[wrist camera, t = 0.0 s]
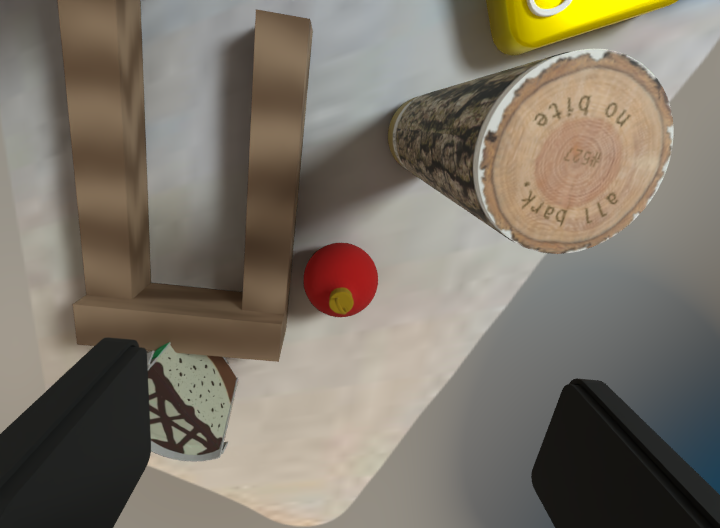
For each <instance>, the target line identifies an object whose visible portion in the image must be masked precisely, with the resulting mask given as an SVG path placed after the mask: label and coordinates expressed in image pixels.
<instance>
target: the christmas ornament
mask: <svg viewBox="0 0 720 528" xmlns="http://www.w3.org/2000/svg"><path fill="white" fill-rule="evenodd" d="M377 285H378V274H377V270H376V267H375V264H374V262H373V260H372V259H371V258H370V256H369V255H368V254H367V253H366V252H365V251H363V250H362V249H361V248H359V247H357V246H355V245H352V244H348V243H333V244H330V245H327V246H324V247H323V248H321V249H319V250H318V251H317V252H316V253H315V254H314V255H313V256H312V257H311V258H310V260H309V261H308V263H307V265H306V268H305V272H304V289H305V292H306V295H307V297H308V299H309V300H310V302H311V303H312V304H313V305H314V306H315V307H316V308H317V309H318V310H319V311H321V312H323V313H325V314H327V315H330V316H334V317H347V316H352V315H354V314H357V313H359V312H360V311H362V310H363V309H364V308H366V307H367V306H368V305H369V303H370V302H371V301H372V299H373V297H374V296H375V293H376V290H377Z"/></svg>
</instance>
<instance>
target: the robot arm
mask: <svg viewBox="0 0 720 528" xmlns="http://www.w3.org/2000/svg"><path fill="white" fill-rule="evenodd" d="M150 453H151V432H150V410H149V388H148V365H147V351H146V349H145V348H142V347H139V344H138V342H137V341H136V340H132V339H120V338H109V337H107V338H103V339H102V340H101V341H99V342H98V343H97V344H96V345H95V346H94V347H93V348H92V349H91V350H90V351H89V352H88V353H87V354H86V355H85V356H83V357H82V358H81V359H80V360H79V361H78V362H77V363H76V364H75V365H74V366H73V367H72V368H71V369H70V370H68V371H67V372H66V373H65V374H64V375H63V376H62V377H61V378H60V379H59V380H58V381H57V382H56V383H55V384H54V385H52V386H51V387H50V388H49V389H48V390H47V391H46V392H45V393H44V394H43V395H42V396H41V397H40V398H39V399H38V400H36V401H35V402H34V403H33V404H32V405H31V406H30V407H29V408H28V409H27V410H26V411H25V412H24V413H22V414H21V415H20V416H19V417H18V418H17V419H16V420H15V421H14V422H13V423H12V424H11V425H10V426H9V427H7V428H6V429H5V430H4V431H3V432H2V433H1V434H0V528H113V527H114V525H115V523H116V521H117V519H118V517H119V516H120V514H121V512H122V510H123V508H124V507H125V505H126V503H127V501H128V499H129V497H130V495H131V494H132V492H133V490H134V488H135V486H136V485H137V483H138V481H139V479H140V477H141V475H142V474H143V472H144V470H145V468H146V466H147V464H148V461H149V458H150ZM531 477H532V484H533V487H534V489H535V491H536V493H537V495H538V497H539V499H540V500H541V502H542V504H543V506H544V507H545V510H546V511H547V513H548V515H549V517H550V518H551V521H552V523H553V524H554V526H555V528H720V495H719V494H718V493H717V492H716V491H715V490H714V489H713V488H712V487H711V486H710V485H709V484H708V483H707V482H706V481H705V480H704V479H703V478H702V477H701V476H699V474H698V473H696V471H694V469H693V468H692V467H690V466H689V465H688V464H687V463H686V462H685V461H684V460H683V459H682V458H681V457H680V456H679V455H678V454H677V453H676V452H675V451H674V450H673V449H672V448H671V447H670V446H669V445H668V444H667V443H666V442H665V441H664V440H663V439H661V437H660V436H659V435H657V433H655V432H654V431H653V430H652V429H651V428H650V427H649V426H648V425H647V424H646V423H645V422H644V421H643V420H642V419H641V418H640V417H639V416H638V415H637V414H636V413H635V412H634V411H633V410H632V409H631V408H630V407H629V406H628V405H627V404H626V403H625V402H624V401H623V400H622V399H621V398H619V397H618V396H617V395H616V394H615V393H614V392H613V391H612V390H611V389H610V388H609V387H608V386H607V385H606V384H604V383H603V382H602V381H598V380H597V381H596V380H586V379H573V380H572V381H571V382H570V383H569V384H568V385H566V386H564V388H563V390H562V392H561V395H560V398H559V400H558V403H557V406H556V408H555V411H554V414H553V416H552V419H551V422H550V425H549V427H548V430H547V432H546V435H545V438H544V440H543V443H542V446H541V448H540V451H539V454H538V456H537V459H536V462H535V464H534V467H533V470H532V476H531Z"/></svg>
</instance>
